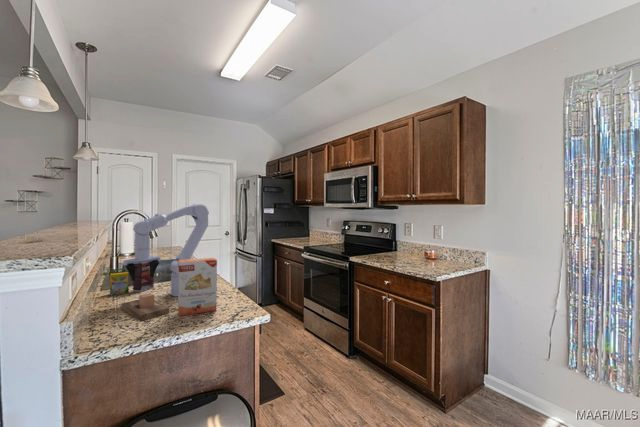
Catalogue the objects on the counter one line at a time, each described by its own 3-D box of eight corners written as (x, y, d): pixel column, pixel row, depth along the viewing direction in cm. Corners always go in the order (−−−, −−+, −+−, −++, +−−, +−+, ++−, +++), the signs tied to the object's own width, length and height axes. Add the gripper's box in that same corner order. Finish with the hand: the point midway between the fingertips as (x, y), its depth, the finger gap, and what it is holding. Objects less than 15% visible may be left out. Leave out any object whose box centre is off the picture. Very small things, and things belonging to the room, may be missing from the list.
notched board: (147, 302, 130) (147, 297, 130) (169, 312, 117) (169, 307, 117) (121, 308, 122) (121, 303, 122) (141, 320, 109) (141, 315, 109)
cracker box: (178, 316, 113) (178, 262, 113) (178, 311, 119) (177, 259, 118) (217, 311, 120) (217, 259, 119) (214, 306, 125) (214, 256, 124)
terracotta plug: (149, 307, 123) (149, 293, 123) (154, 309, 121) (154, 294, 121) (139, 310, 120) (139, 295, 120) (143, 312, 118) (143, 297, 118)
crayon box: (110, 295, 139) (109, 270, 139) (110, 293, 141) (109, 269, 141) (128, 292, 143) (128, 268, 143) (128, 291, 146) (128, 267, 145)
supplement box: (141, 292, 144) (141, 259, 144) (132, 291, 145) (132, 259, 145) (154, 287, 153) (154, 256, 152) (146, 286, 154) (146, 256, 153)
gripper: (155, 245, 140) (155, 274, 141) (120, 249, 129) (120, 280, 129) (162, 247, 136) (162, 277, 136) (126, 251, 125) (126, 283, 125)
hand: (142, 278), depth 133 cm, fingers open, 7 cm apart
